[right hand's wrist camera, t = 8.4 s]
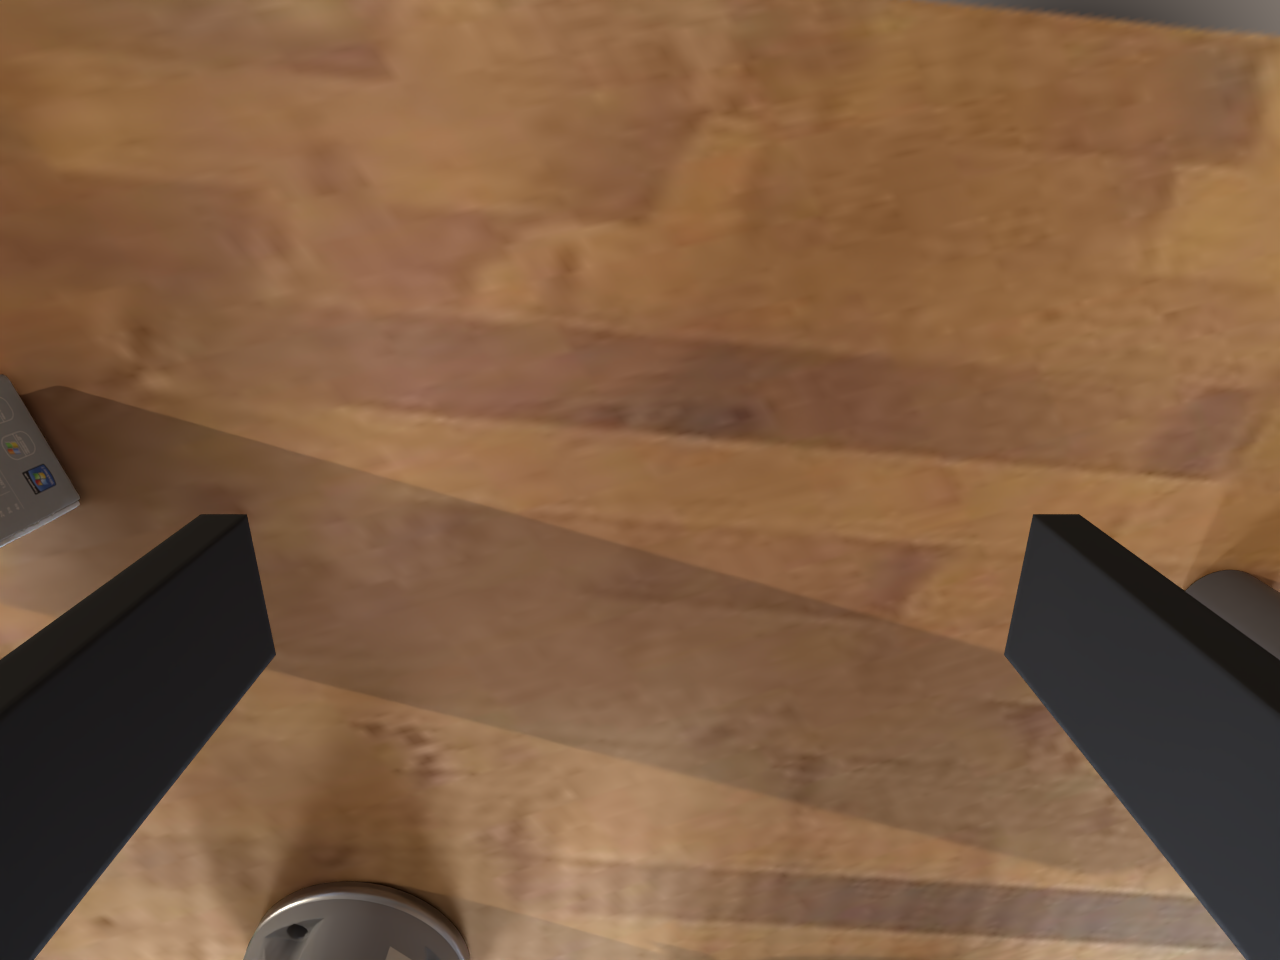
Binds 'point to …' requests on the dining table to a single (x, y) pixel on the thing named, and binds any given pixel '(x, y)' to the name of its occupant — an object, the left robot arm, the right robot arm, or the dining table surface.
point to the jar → (1243, 605)
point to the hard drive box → (27, 472)
